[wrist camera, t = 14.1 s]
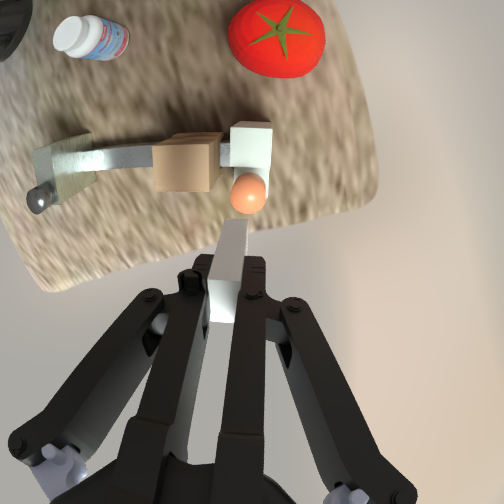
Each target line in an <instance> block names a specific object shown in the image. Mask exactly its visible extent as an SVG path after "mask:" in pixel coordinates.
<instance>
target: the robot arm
mask: <svg viewBox="0 0 504 504" xmlns="http://www.w3.org/2000/svg"><path fill="white" fill-rule="evenodd" d="M31 13H32V2H31V0H0V62H2V61H4V60H6V59H7V58H8V57H9V56H10V55H11V54H12V53H13V52H14V50H15V49H16V48H17V46H18V45H19V43H20V41H21V39H22V38H23V36H24V34H25V32H26V29H27V27H28V24H29V21H30V18H31ZM247 241H248V219H229V218H225V221H224V225H223V228H222V231H221V234H220V238H219V241H218V244H217V248H216V251H215V254H214V255H210V254H200V255H199V256H198V257H197V258H196V259H195V261H194V265H193V267H192V269H186V270H184V271H182V272H180V273H179V274H178V276H177V278H178V284H179V292H177V293H173V294H168V295H163V293H162V292H161V290H158V289H156V288H149V289H145V290H143V291H142V292H140V293H139V294H138V295H137V296H136V298H135V299H134V300H133V301H132V302H131V303H130V304H129V305H128V307H127V308H126V309H125V310H124V311H123V312H122V313H121V314H120V316H119V317H118V318H117V319H116V320H115V321H114V322H113V324H112V325H111V326H110V327H109V329H108V330H107V331H106V332H105V333H104V334H103V336H102V337H101V338H100V339H99V340H98V341H97V343H96V344H95V345H94V346H93V347H92V349H91V350H90V351H89V352H88V353H87V355H86V356H85V357H84V358H83V360H82V361H81V362H80V363H79V365H78V366H77V367H76V368H75V370H74V371H73V372H72V373H71V375H70V376H69V377H68V379H67V380H66V381H65V382H64V384H63V385H62V386H61V387H60V389H59V390H58V391H57V393H56V394H55V395H54V397H53V398H52V399H51V401H50V402H49V404H48V405H47V406H46V407H45V409H44V410H43V411H42V412H41V413H39V414H38V415H37V416H35V417H33V418H32V419H31V420H29V421H28V422H26V423H25V424H23V425H22V426H20V427H19V428H17V429H16V430H14V431H13V432H12V433H11V434H10V436H9V439H8V447H9V451H10V453H11V454H12V456H13V457H15V458H16V459H18V460H20V461H21V462H23V463H24V464H26V465H28V466H29V467H30V469H31V471H32V473H33V474H34V476H35V478H36V479H37V481H38V483H39V484H40V486H41V488H42V489H43V491H44V492H45V494H46V495H47V497H48V498H49V500H50V501H51V502H50V504H296V503H295V502H294V501H293V499H292V498H291V497H290V496H289V495H288V494H287V493H286V492H285V491H284V490H283V489H282V487H281V486H280V485H279V484H278V483H277V482H275V481H274V480H273V479H272V478H270V477H269V476H267V475H265V474H263V470H264V395H265V342H266V340H268V341H272V342H275V345H276V349H277V351H278V354H279V357H280V360H281V363H282V366H283V369H284V372H285V375H286V378H287V381H288V384H289V387H290V390H291V393H292V396H293V399H294V402H295V405H296V408H297V411H298V413H299V416H300V419H301V422H302V425H303V428H304V431H305V434H306V437H307V440H308V443H309V446H310V449H311V451H312V454H313V457H314V460H315V463H316V466H317V469H318V472H319V474H320V476H321V478H322V481H323V483H324V484H325V486H326V487H327V489H328V491H329V492H330V493H329V494H328V495H327V496H326V498H325V499H324V501H323V504H416V501H417V497H418V495H417V489H416V488H415V487H414V485H413V484H412V483H411V482H410V481H409V480H408V479H406V478H405V477H404V476H403V475H402V474H401V473H400V472H399V471H398V470H397V469H396V468H395V467H394V466H393V465H392V464H390V462H389V461H387V460H386V459H385V458H384V457H383V456H382V455H381V454H380V452H379V449H378V447H377V445H376V443H375V441H374V438H373V436H372V434H371V432H370V430H369V427H368V425H367V423H366V421H365V419H364V417H363V415H362V412H361V411H360V408H359V406H358V404H357V402H356V400H355V398H354V396H353V394H352V391H351V389H350V387H349V385H348V383H347V381H346V379H345V377H344V375H343V373H342V371H341V369H340V367H339V365H338V363H337V361H336V358H335V356H334V355H333V352H332V350H331V348H330V347H329V344H328V342H327V341H326V338H325V336H324V335H323V332H322V330H321V329H320V327H319V324H318V323H317V321H316V319H315V317H314V315H313V313H312V311H311V309H310V307H309V305H308V304H307V302H306V301H304V300H303V299H301V298H297V297H289V298H286V299H284V300H283V301H282V302H280V301H277V300H274V299H272V298H270V297H269V296H268V295H267V293H266V290H265V282H266V281H265V279H266V278H265V276H266V265H265V264H266V262H265V260H264V259H263V257H259V256H247ZM209 318H210V319H211V321H216V322H229V323H234V329H233V336H232V344H231V351H230V359H229V367H228V375H227V383H226V391H225V399H224V407H223V416H222V424H221V430H220V432H219V436H218V442H217V451H216V458H215V463H212V464H201V465H191V464H188V463H187V459H188V452H187V444H188V438H189V432H190V426H191V420H192V415H193V410H194V404H195V399H196V393H197V388H198V383H199V378H200V372H201V368H202V362H203V357H204V353H205V347H206V342H207V338H208V333H209ZM151 365H152V367H151ZM150 367H151V371H150V374H149V376H148V380H147V383H146V386H145V389H144V392H143V395H142V399H141V402H140V405H139V408H138V412H137V414H136V415H135V416H134V417H131V418H130V419H129V420H128V422H127V425H126V428H125V431H124V435H123V438H122V442H121V445H120V449H119V453H118V456H117V459H115V460H114V461H112V462H111V463H109V464H108V465H106V466H105V467H103V468H102V469H100V470H99V471H97V472H96V473H94V474H93V475H91V476H90V477H88V478H86V479H85V480H84V481H82V482H80V480H81V479H82V477H85V476H86V475H87V473H88V472H87V468H86V464H85V462H86V461H87V460H89V459H90V458H91V456H92V455H93V454H94V453H95V452H96V451H97V449H98V448H99V446H100V445H101V444H102V442H103V440H104V439H105V437H106V436H107V434H108V432H109V431H110V429H111V428H112V426H113V424H114V423H115V421H116V420H117V418H118V417H119V415H120V413H121V412H122V410H123V409H124V407H125V406H126V404H127V402H128V401H129V399H130V398H131V396H132V395H133V393H134V392H135V390H136V388H137V387H138V385H139V384H140V382H141V381H142V379H143V378H144V376H145V374H146V373H147V371H148V370H149V368H150Z"/></svg>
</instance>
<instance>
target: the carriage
mask: <svg viewBox="0 0 504 504" xmlns="http://www.w3.org/2000/svg"><path fill="white" fill-rule="evenodd" d="M222 139H223V132H188V133H177V134H175V135H173V136H172V137H171V138H169V139H167V140H164V141H162V142H160V143H158V144H155V145H153V146H152V156H153V170H154V183H155V191H176V192H210V190H211V189H212V187H213V185H214V184H215V182H216V180H217V179H218V177H220V175H221V174H222V172H223V166H220V140H222Z"/></svg>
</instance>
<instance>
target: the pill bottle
mask: <svg viewBox="0 0 504 504" xmlns="http://www.w3.org/2000/svg"><path fill="white" fill-rule="evenodd" d="M128 42H129V33H128V31H127V29H126V28H125V27H123V26H122V25H119V24H116V23H114V22H111V21H108V20H105V19H103V18H100V17H97V16H93V15H87V16H83V17H78V16H71V17H68V18H66V19H65V20H64V21H63V22H62V23H61V24H60V25H59V26H58V27H57V29H56V31H55V34H54V37H53V45H54V47H55V49H57V50H58V51H64V52H65V53H66V54H67V55H68V56H70V57H74V58H83V59H92V60H100V61H109V60H112V59H115V58H117V57H118V56H120V55H121V54H122V53H123V52H124V50H125V49H126V47H127V45H128Z"/></svg>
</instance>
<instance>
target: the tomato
mask: <svg viewBox="0 0 504 504" xmlns="http://www.w3.org/2000/svg"><path fill="white" fill-rule="evenodd" d="M228 42H229V45H230V48H231V50H232V53H233V54H234V56H235V57H236V59H237V60H238V61H239V62H240V63H241V64H242V65H243V66H244V67H246V68H247V69H249V70H251V71H252V72H255V73H257V74H260V75H263V76H268V77H274V78H296V77H301V76H303V75H305V74H307V73H309V72H310V71H311V70H312V69H313V68H314V67H315V66H316V65H317V64H318V62H319V60H320V58H321V56H322V53H323V50H324V47H325V31H324V25H323V23H322V21H321V18H320V17H319V16H318V15H317V13H316V12H315V11H314V10H313V9H311V8H310V7H309V6H308V5H306V4H305V3H303V2H302V1H300V0H255V1H253V2H251V3H249V4H247V5H246V6H244V7H243V8H242V9H241V10H240V11H239V12H238V13H237V14H236V15H235V16H234V17H233V18H232V20H231V21H230V24H229V27H228Z"/></svg>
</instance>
